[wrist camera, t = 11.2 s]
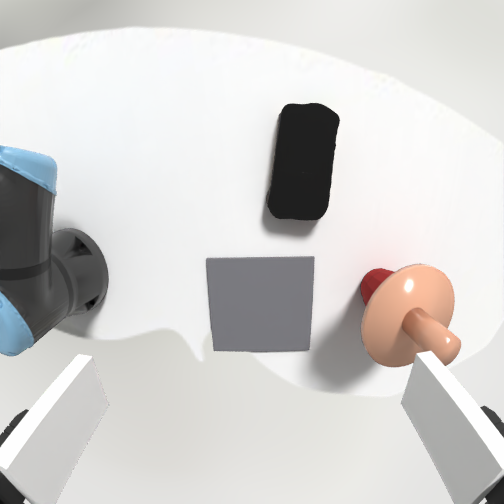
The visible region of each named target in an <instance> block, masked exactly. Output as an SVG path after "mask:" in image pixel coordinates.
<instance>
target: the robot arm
mask: <svg viewBox="0 0 504 504" xmlns="http://www.w3.org/2000/svg"><path fill="white" fill-rule="evenodd" d="M56 178H57V165H56V162H55V161H54V159H53V158H51V157H50V156H47V155H43V154H40V153H36V152H31V151H27V150H22V149H17V148H12V147H5V146H0V353H1V354H4V355H7V356H16V355H18V354H20V353H21V352H23V351H24V350H26V349H27V348H30V347H32V346H33V345H34V344H35V343H36V342H37V341H38V340H39V339H40V338H41V337H43V336H44V335H45V334H46V333H47V332H48V331H49V330H51V329H52V328H53V327H54V326H55V325H57V324H58V323H59V322H60V321H61V320H63V319H64V318H65V317H66V316H72V315H77V314H82V313H86V312H88V311H90V310H92V309H93V308H94V307H95V306H97V305H98V304H99V303H100V302H101V301H102V299H103V298H104V296H105V294H106V291H107V287H108V270H107V265H106V262H105V259H104V256H103V254H102V252H101V250H100V249H99V247H98V246H97V244H96V243H95V242H94V241H93V240H92V239H91V238H90V237H89V236H88V235H87V234H85V233H84V232H82V231H80V230H77V229H71V228H68V229H63V230H60V231H57V232H54V233H52V226H53V213H54V202H55V196H56V194H57V192H56ZM401 404H402V406H403V408H404V409H405V411H406V413H407V415H408V416H409V418H410V420H411V422H412V423H413V425H414V427H415V429H416V431H417V433H418V434H419V436H420V438H421V440H422V442H423V443H424V445H425V447H426V449H427V451H428V453H429V455H430V457H431V459H432V461H433V462H434V464H435V466H436V468H437V470H438V472H439V474H440V476H441V478H442V480H443V482H444V484H445V486H446V488H447V490H448V492H449V494H450V496H451V498H452V500H453V502H454V504H479V503H480V502H481V501H482V500H483V498H486V500H487V502H486V503H485V504H504V423H503V422H501V419H500V418H499V417H498V416H497V414H496V413H495V412H494V411H492V410H491V409H489V408H487V407H486V406H483V407H479V406H478V405H477V404H476V402H475V401H474V400H473V399H472V397H471V396H470V395H469V394H468V393H467V391H466V390H465V389H464V388H463V387H462V385H461V384H460V383H459V382H458V381H457V380H456V378H455V377H454V376H453V375H452V374H451V373H450V372H449V370H448V369H447V368H446V367H445V366H444V365H443V364H442V362H441V361H440V360H439V359H438V358H437V357H436V356H435V355H434V353H433V352H432V351H427V352H421V353H416V357H415V360H414V364H413V367H412V370H411V374H410V377H409V380H408V383H407V386H406V389H405V392H404V395H403V398H402V401H401ZM108 406H109V402H108V400H107V397H106V395H105V392H104V389H103V386H102V383H101V381H100V378H99V375H98V372H97V369H96V365H95V362H94V359H93V356H88V355H82V354H78V355H77V356H76V357H75V358H74V359H73V360H72V361H71V363H70V364H69V365H68V366H67V367H66V368H65V369H64V370H63V372H62V373H61V374H60V375H59V376H58V377H57V378H56V380H55V381H54V382H53V383H52V384H51V385H50V387H49V388H48V389H47V390H46V391H45V392H44V394H43V395H42V396H41V397H40V398H39V400H38V401H37V402H36V403H35V404H34V406H33V407H32V408H31V409H30V410H24V411H23V412H21V413H20V414H18V415H17V416H16V417H15V418H14V419H13V420H12V421H11V423H10V424H9V425H10V426H7V427H6V429H5V430H4V433H3V432H2V434H1V435H0V504H24V503H23V502H24V500H25V498H26V499H27V500H28V501H29V502H30V503H31V504H56V502H57V500H58V498H59V496H60V494H61V492H62V490H63V488H64V486H65V484H66V483H67V480H68V479H69V477H70V475H71V473H72V471H73V469H74V467H75V466H76V463H77V462H78V460H79V458H80V456H81V454H82V453H83V451H84V449H85V447H86V445H87V444H88V442H89V440H90V438H91V436H92V435H93V433H94V431H95V429H96V428H97V426H98V424H99V422H100V421H101V419H102V417H103V415H104V413H105V412H106V410H107V408H108Z"/></svg>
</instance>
